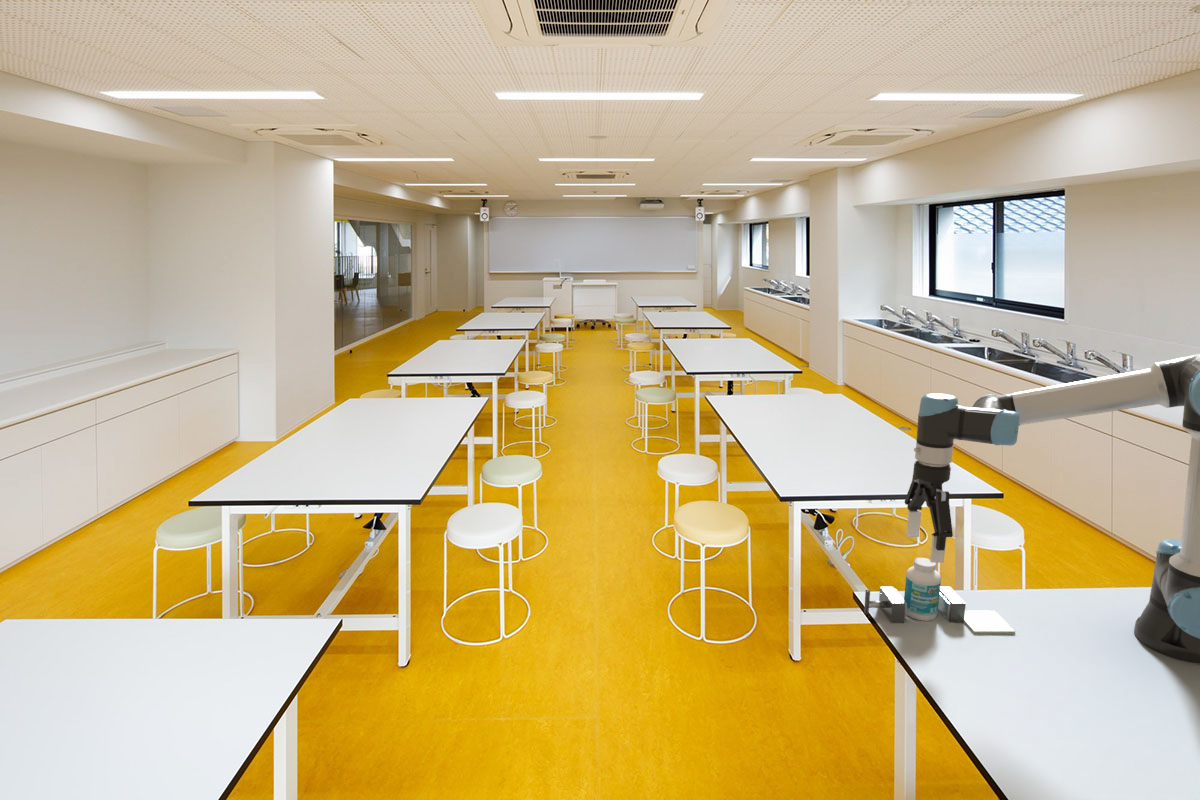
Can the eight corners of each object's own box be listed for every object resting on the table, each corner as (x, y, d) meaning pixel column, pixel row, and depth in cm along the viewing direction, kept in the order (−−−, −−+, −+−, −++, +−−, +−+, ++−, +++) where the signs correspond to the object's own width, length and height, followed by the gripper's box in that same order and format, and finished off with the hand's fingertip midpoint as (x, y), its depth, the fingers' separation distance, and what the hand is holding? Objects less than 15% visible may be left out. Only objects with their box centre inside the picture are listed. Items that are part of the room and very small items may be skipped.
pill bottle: (907, 621, 160) (911, 568, 157) (899, 605, 167) (903, 554, 164) (941, 623, 158) (946, 569, 155) (932, 607, 165) (936, 555, 163)
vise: (947, 609, 166) (950, 582, 165) (963, 626, 158) (966, 599, 157) (858, 609, 167) (860, 582, 166) (869, 626, 159) (871, 599, 158)
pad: (994, 612, 162) (994, 610, 162) (1015, 633, 153) (1015, 631, 153) (955, 612, 163) (955, 610, 162) (974, 633, 154) (974, 631, 154)
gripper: (895, 446, 167) (888, 527, 171) (939, 480, 142) (930, 573, 147) (926, 446, 166) (918, 527, 171) (976, 480, 142) (966, 573, 147)
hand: (924, 548), depth 159 cm, fingers open, 13 cm apart
